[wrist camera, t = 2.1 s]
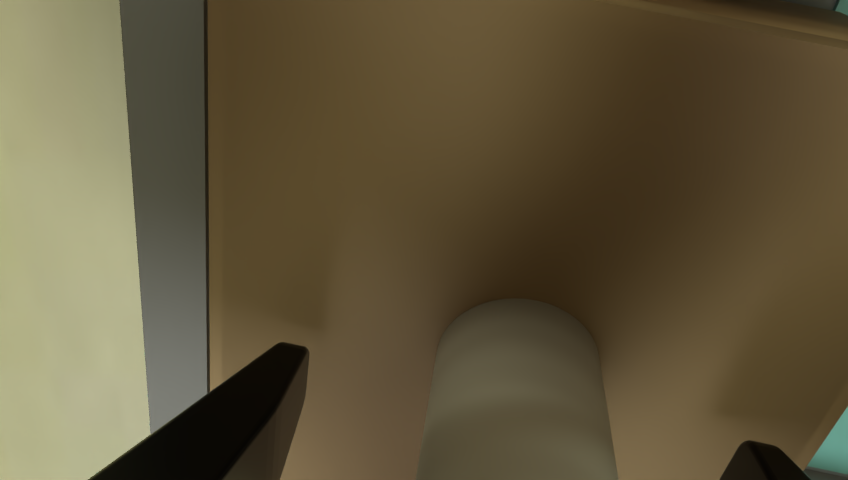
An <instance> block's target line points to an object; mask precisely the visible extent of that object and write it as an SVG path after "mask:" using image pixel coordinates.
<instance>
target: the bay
mask: <svg viewBox="0 0 848 480" xmlns="http://www.w3.org/2000/svg"><path fill="white" fill-rule="evenodd" d="M119 1H120V15H121V28H122V42H123V56H124V70H125V84H126V98H127V112H128V125H129V139H130V153H131V167H132V181H133V195H134V209H135V222H136V236H137V250H138V264H139V278H140V292H141V306H142V319H143V333H144V347H145V361H146V375H147V389H148V403H149V416H150V430H151V434H152V433H154V432H155V431H156V430H158V429H159V428H160V427H162V426H163V425H165V424H166V423H167V422H169V421H170V420H172V419H173V418H174V417H176V416H177V415H178V414H180V413H181V412H183V411H184V410H185V409H187V408H188V407H190V406H191V405H192V404H194V403H195V402H196V401H198V400H199V399H201V398H202V397H203V396H205V395H206V394H208V393H209V392H210V319H209V153H208V0H119ZM781 1H786V2H791V3H796V4H801V5H806V6H812V7H817V8H822V9H827V10H832V11H837V12H841V13H843V14H845V15H847V16H848V0H781ZM804 472H805V473H806V474H807V475H808V476H809V477H810V478H811V479H812V480H848V407H847V408H846V410H845V411H844V412H843V414H842V415H841V417H840V418H839V420H838V421H837V423H836V424H835V426H834V427H833V429H832V430H831V432H830V433H829V434H828V436H827V437H826V439H825V440H824V442H823V443H822V445H821V446H820V448H819V449H818V451H817V452H816V454H815V455H814V456H813V458H812V459H811V461H810V462H809V464H808V465H807V467H806V468H805V470H804Z"/></svg>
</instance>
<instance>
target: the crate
mask: <svg viewBox="0 0 848 480" xmlns="http://www.w3.org/2000/svg"><path fill="white" fill-rule="evenodd" d="M208 153H209V319H210V391H212V390H213V389H214V388H216V387H217V386H219V385H220V384H221V383H223V382H224V381H226V380H227V379H228V378H230V377H231V376H232V375H234V374H235V373H237V372H238V371H239V370H241V369H242V368H244V367H245V366H246V365H248V364H249V363H251V362H252V361H253V360H255V359H256V358H257V357H259V356H260V355H262V354H263V353H264V352H266V351H267V350H269V349H270V348H271V347H273V346H274V345H275V344H277V343H280V342H286V343H291V344H296V345H301V346H305V347H307V348H308V350H309V366H308V377H307V387H306V395H305V400H304V405H303V408H302V411H301V415H300V418H299V421H298V424H297V427H296V431H295V434H294V437H293V440H292V443H291V446H290V450H289V453H288V456H287V459H286V462H285V466H284V469H283V472H282V475H281V478H280V480H719V479H720V477H721V475H722V474H723V472H724V470H725V469H726V467H727V465H728V464H729V462H730V460H731V458H732V457H733V455H734V453H735V452H736V450H737V448H738V447H739V445H740V444H741V443H742V442H744V441H747V440H752V441H757V442H762V443H766V444H771V445H774V446H777V447H778V448H780V449H781V450H782V451H783V452H784V453H785V454H786V455H787V456H788V457H789V458H790V459H791V460H792V461H793V462H794V463H795V464H796V465H797V466H798V467H800V468H801V469H802V470H803V471H804V470H805V468H806V467H807V465H808V464H809V462H810V461H811V459H812V458H813V456H814V455H815V454H816V452H817V451H818V449H819V448H820V446H821V445H822V443H823V442H824V440H825V439H826V437H827V436H828V434H829V433H830V432H831V430H832V429H833V427H834V426H835V424H836V423H837V421H838V420H839V418H840V417H841V415H842V414H843V412H844V411H845V410H846V408H847V407H848V16H847V15H845V14H843V13H841V12H837V11H832V10H827V9H822V8H817V7H812V6H806V5H801V4H796V3H791V2H786V1H781V0H208Z"/></svg>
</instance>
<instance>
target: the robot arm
mask: <svg viewBox="0 0 848 480" xmlns="http://www.w3.org/2000/svg"><path fill="white" fill-rule="evenodd" d="M308 366H309V350H308V348H307V347H305V346H301V345H296V344H291V343H286V342H280V343H277V344H275V345H274V346H273V347H271V348H270V349H269V350H267V351H266V352H264V353H263V354H262V355H260V356H259V357H257V358H256V359H255V360H253V361H252V362H251V363H249V364H248V365H246V366H245V367H244V368H242V369H241V370H239V371H238V372H237V373H235V374H234V375H232V376H231V377H230V378H228V379H227V380H226V381H224V382H223V383H221V384H220V385H219V386H217V387H216V388H214V389H213V390H212V391H210V392H209V393H208V394H206V395H205V396H203V397H202V398H201V399H199V400H198V401H196V402H195V403H194V404H192V405H191V406H190V407H188V408H187V409H185V410H184V411H183V412H181V413H180V414H178V415H177V416H176V417H174V418H173V419H172V420H170V421H169V422H167V423H166V424H165V425H163V426H162V427H160V428H159V429H158V430H156V431H155V432H154V433H152V434H151V435H149V436H148V437H147V438H145V439H144V440H142V441H141V442H140V443H138V444H137V445H135V446H134V447H133V448H131V449H130V450H129V451H127V452H126V453H124V454H123V455H122V456H120V457H119V458H117V459H116V460H115V461H113V462H112V463H111V464H109V465H108V466H106V467H105V468H104V469H102V470H101V471H99V472H98V473H97V474H95V475H94V476H93V477H91V478H90V479H88V480H280V478H281V475H282V472H283V469H284V466H285V462H286V459H287V456H288V453H289V450H290V446H291V443H292V440H293V437H294V434H295V431H296V427H297V424H298V421H299V418H300V415H301V411H302V408H303V405H304V400H305V395H306V387H307V377H308ZM719 480H812V479H811V478H810V477H809V476H808V475H807V474H806V473H805V472H804V471H803V470H802V469H801V468H800V467H798V466H797V465H796V464H795V463H794V462H793V461H792V460H791V459H790V458H789V457H788V456H787V455H786V454H785V453H784V452H783V451H782V450H781V449H780V448H778V447H777V446H774V445H771V444H766V443H762V442H757V441H752V440H747V441H744V442H742V443H741V444H740V445H739V447H738V448H737V450H736V452H735V453H734V455H733V457H732V458H731V460H730V462H729V464H728V465H727V467H726V469H725V470H724V472H723V474H722V475H721V477H720V479H719Z"/></svg>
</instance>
